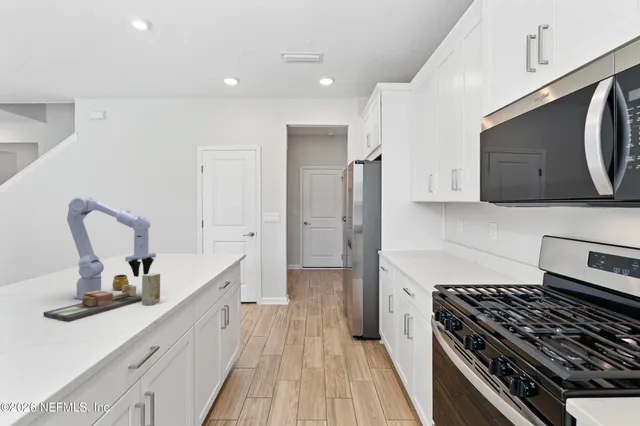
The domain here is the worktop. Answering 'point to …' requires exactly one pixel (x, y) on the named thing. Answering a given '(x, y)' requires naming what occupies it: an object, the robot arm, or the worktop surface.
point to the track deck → (84, 311)
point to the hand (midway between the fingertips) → (141, 275)
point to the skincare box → (150, 288)
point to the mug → (119, 282)
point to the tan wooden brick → (126, 291)
